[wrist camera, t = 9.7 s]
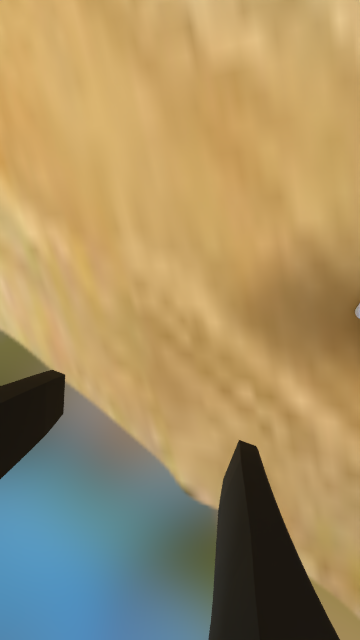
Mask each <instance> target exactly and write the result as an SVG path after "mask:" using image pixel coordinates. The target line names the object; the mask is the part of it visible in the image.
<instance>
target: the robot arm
mask: <svg viewBox="0 0 360 640" xmlns="http://www.w3.org/2000/svg"><path fill="white" fill-rule="evenodd" d="M355 315H356V316H357V317H358V318H359V319H360V304H359V305H358V306H357V308H356V310H355ZM64 388H65V374H62V373H59V372H57V371H54V370H50V371H46V372H43V373H40V374H37V375H34V376H30V377H27V378H24V379H21V380H18V381H15V382H12V383H9V384H6V385H3V386H0V479H1V478H2V477H3V476H4V475H5V474H6V473H7V472H8V471H9V470H10V469H11V468H13V466H15V465H16V464H17V463H18V462H19V461H20V460H21V459H22V458H23V457H24V456H25V455H26V454H27V453H28V452H29V451H30V450H31V449H32V448H33V447H34V446H35V445H36V444H37V443H38V442H39V441H40V440H41V439H42V438H43V437H44V436H45V435H46V434H47V433H48V432H49V431H50V429H51V428H52V427H53V426H54V424H55V423H56V422H57V421H58V419H59V418H60V417H61V416H62V415H63V407H64ZM209 640H340V639H339V637H338V635H337V633H336V631H335V630H334V628H333V626H332V624H331V622H330V620H329V618H328V616H327V614H326V612H325V610H324V608H323V606H322V604H321V602H320V600H319V598H318V596H317V594H316V593H315V590H314V588H313V586H312V584H311V582H310V580H309V578H308V575H307V573H306V571H305V569H304V567H303V565H302V562H301V560H300V558H299V556H298V554H297V551H296V549H295V547H294V544H293V542H292V540H291V538H290V535H289V533H288V530H287V528H286V526H285V523H284V521H283V518H282V516H281V513H280V511H279V508H278V506H277V503H276V500H275V498H274V495H273V492H272V490H271V487H270V484H269V481H268V479H267V476H266V473H265V470H264V467H263V464H262V461H261V457H260V454H259V451H258V449H257V447H256V446H254V445H251V444H249V443H246V442H243V441H241V440H239V442H238V444H237V447H236V449H235V451H234V454H233V456H232V459H231V461H230V464H229V466H228V469H227V471H226V474H225V476H224V479H223V485H222V491H221V497H220V503H219V510H218V525H217V541H216V558H215V575H214V591H213V605H212V616H211V625H210V633H209Z"/></svg>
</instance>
